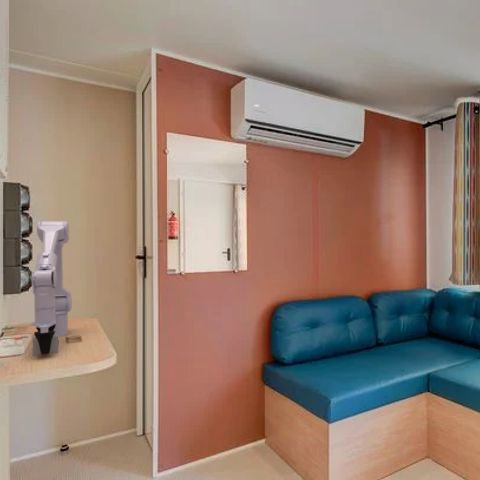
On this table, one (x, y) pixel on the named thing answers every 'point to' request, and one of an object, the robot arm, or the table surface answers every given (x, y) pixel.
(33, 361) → the table surface
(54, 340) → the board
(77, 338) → the offcut top
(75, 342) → the offcut bottom
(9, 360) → the table surface
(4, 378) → the table surface
